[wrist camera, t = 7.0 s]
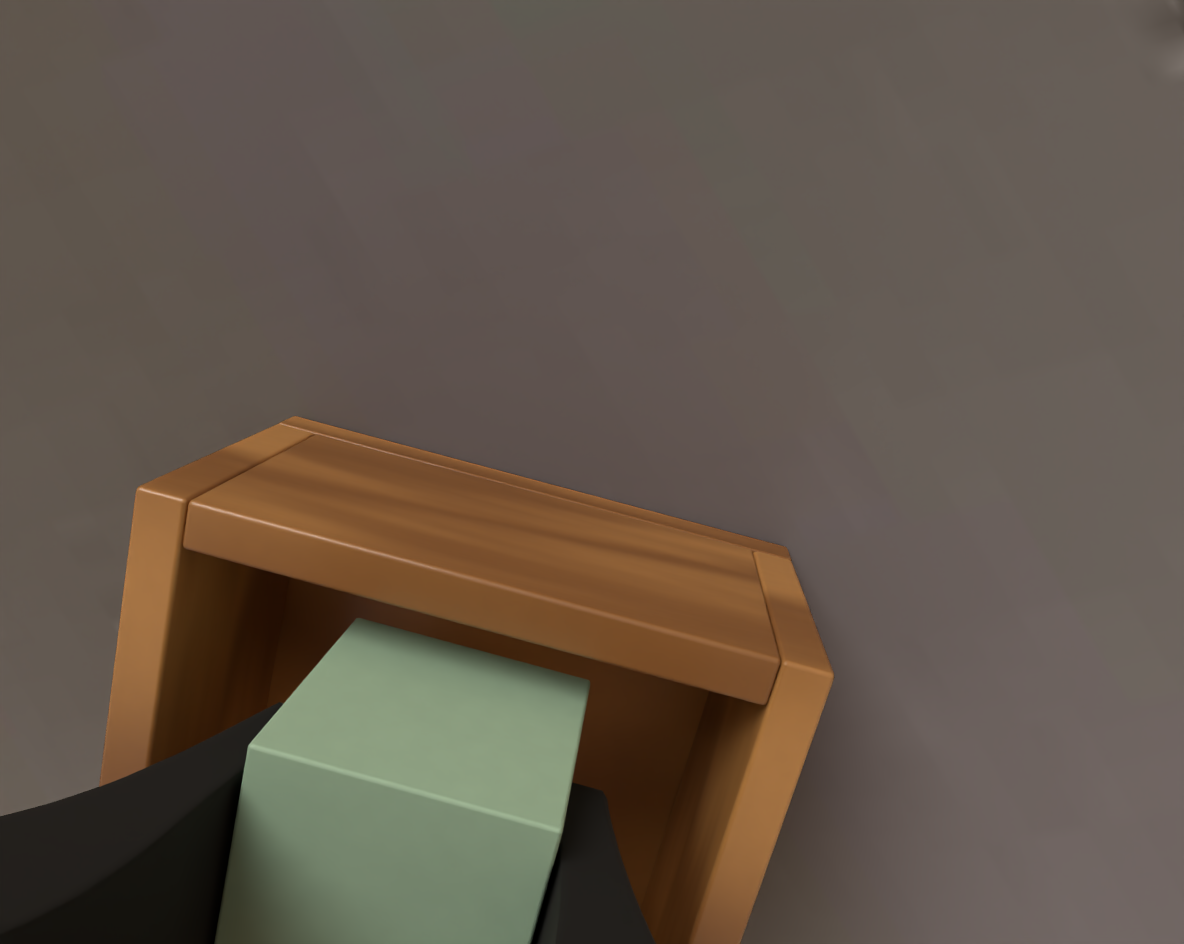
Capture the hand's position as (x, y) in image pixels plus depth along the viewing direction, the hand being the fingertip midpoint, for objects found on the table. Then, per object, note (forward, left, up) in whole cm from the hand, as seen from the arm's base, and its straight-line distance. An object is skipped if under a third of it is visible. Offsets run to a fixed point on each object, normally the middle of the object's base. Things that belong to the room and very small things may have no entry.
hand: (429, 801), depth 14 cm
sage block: (0, 0, -1) cm, 1 cm away
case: (0, -1, -6) cm, 6 cm away
